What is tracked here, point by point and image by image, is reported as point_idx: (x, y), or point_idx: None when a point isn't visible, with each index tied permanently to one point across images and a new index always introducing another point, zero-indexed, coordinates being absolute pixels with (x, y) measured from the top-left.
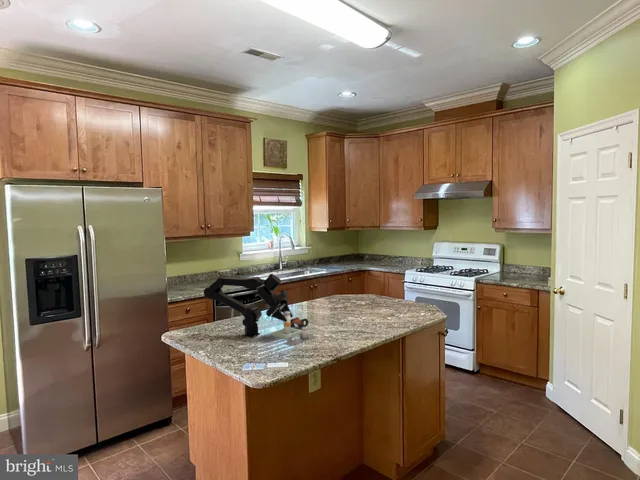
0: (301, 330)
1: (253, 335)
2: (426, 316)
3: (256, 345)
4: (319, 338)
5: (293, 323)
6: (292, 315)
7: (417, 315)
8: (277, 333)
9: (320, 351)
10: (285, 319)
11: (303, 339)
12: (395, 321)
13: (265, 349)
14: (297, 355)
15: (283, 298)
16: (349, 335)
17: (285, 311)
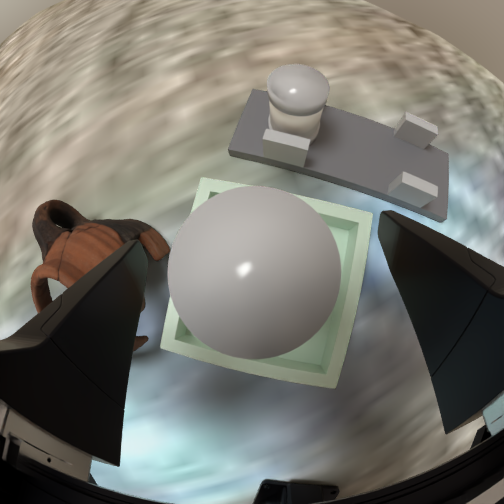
0: (209, 178)
1: (322, 490)
2: (30, 23)
3: None
4: (242, 84)
5: None
6: (130, 243)
7: (18, 37)
8: (347, 336)
9: (406, 52)
10: (407, 223)
11: (331, 129)
12: (43, 33)
13: None
14: (480, 119)
15: None
16: (172, 23)
17: (207, 325)
